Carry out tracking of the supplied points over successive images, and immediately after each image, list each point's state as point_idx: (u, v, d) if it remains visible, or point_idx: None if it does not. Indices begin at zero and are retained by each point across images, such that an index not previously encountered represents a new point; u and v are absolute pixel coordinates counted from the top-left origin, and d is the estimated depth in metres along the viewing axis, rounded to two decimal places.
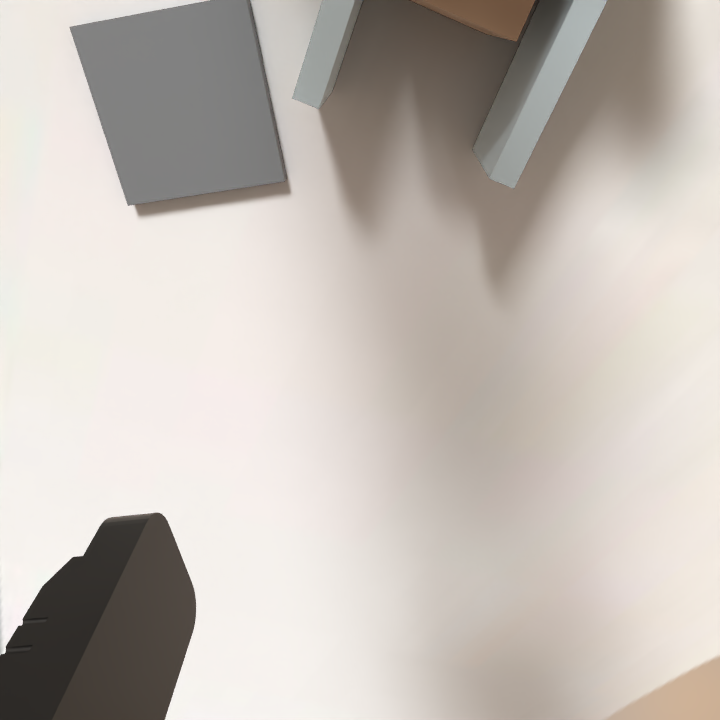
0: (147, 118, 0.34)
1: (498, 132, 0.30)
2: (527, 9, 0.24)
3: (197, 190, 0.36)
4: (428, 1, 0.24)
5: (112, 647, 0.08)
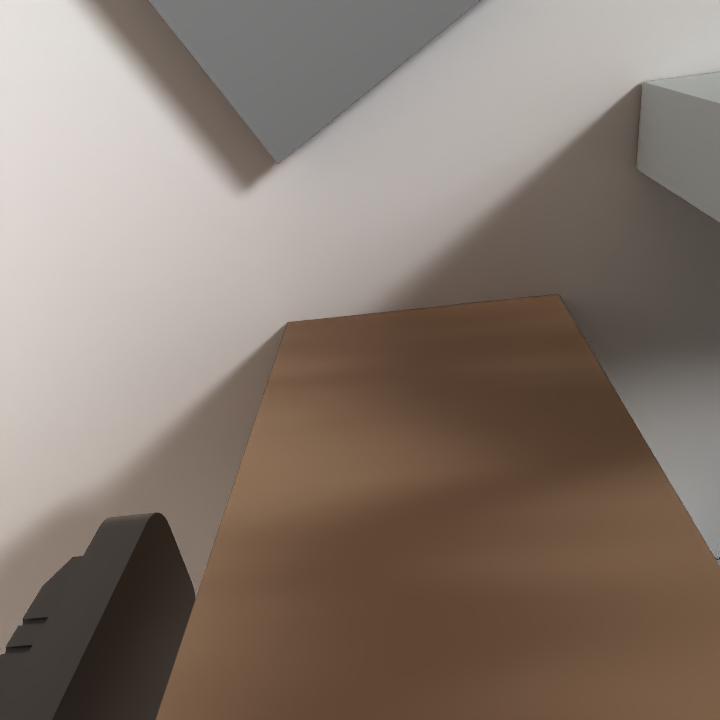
0: None
1: None
2: None
3: None
4: None
5: (112, 648, 0.08)
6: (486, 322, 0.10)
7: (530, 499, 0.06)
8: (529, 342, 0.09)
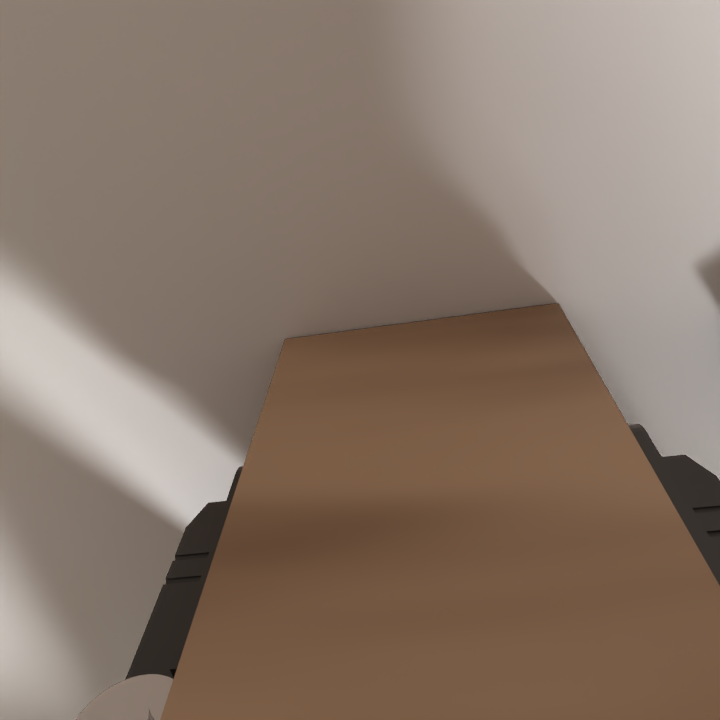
0: None
1: None
2: None
3: None
4: None
5: None
6: None
7: None
8: None
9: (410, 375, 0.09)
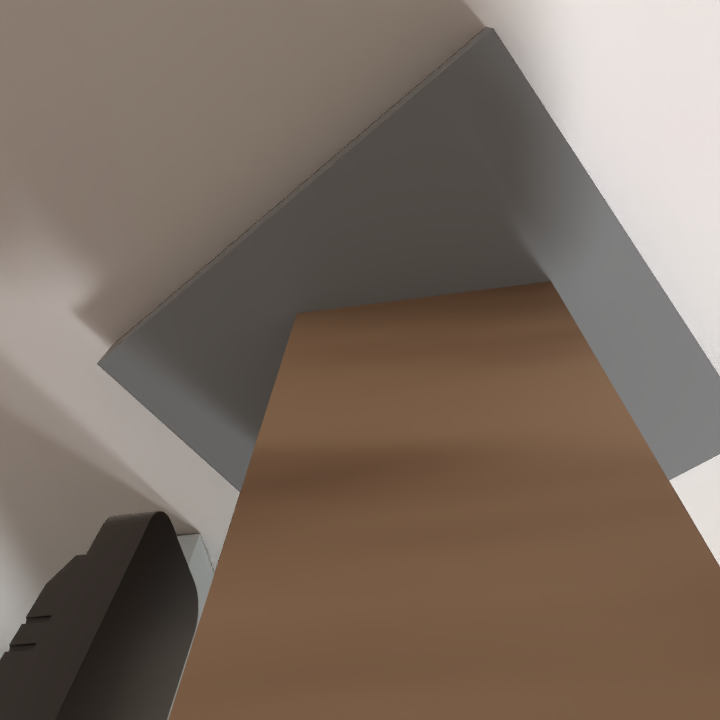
0: None
1: None
2: None
3: (294, 215, 0.11)
4: None
5: (116, 645, 0.08)
6: None
7: None
8: None
9: (414, 343, 0.10)
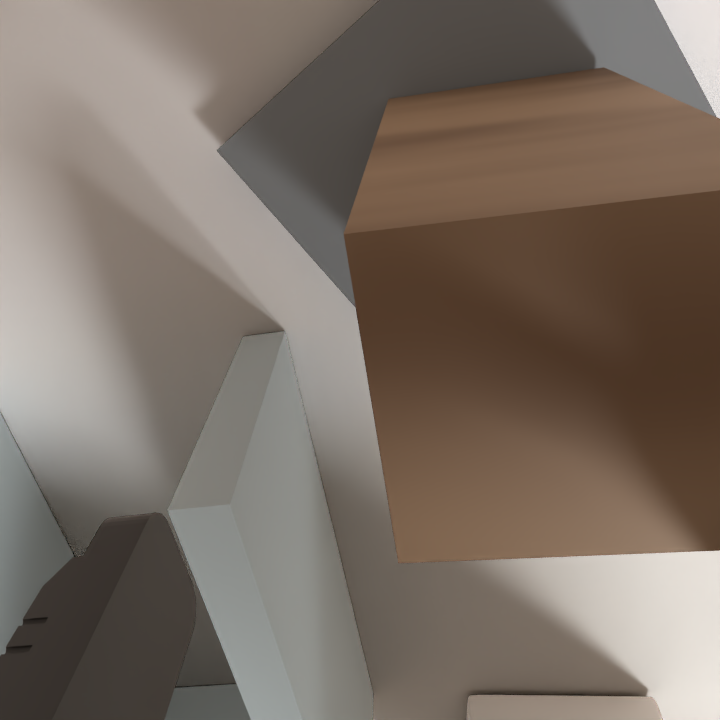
0: None
1: None
2: (371, 332, 0.07)
3: (391, 5, 0.13)
4: None
5: (113, 647, 0.08)
6: None
7: None
8: None
9: (492, 96, 0.12)
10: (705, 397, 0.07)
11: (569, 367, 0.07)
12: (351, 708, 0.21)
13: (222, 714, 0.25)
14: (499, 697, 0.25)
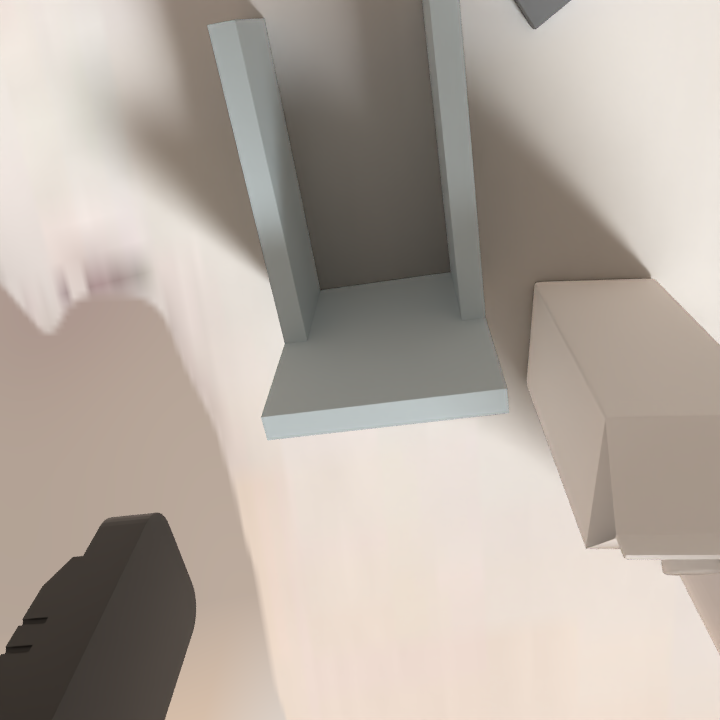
0: None
1: (255, 59, 0.30)
2: None
3: None
4: None
5: (113, 646, 0.08)
6: None
7: None
8: None
9: None
10: None
11: None
12: None
13: (378, 289, 0.39)
14: (555, 281, 0.39)
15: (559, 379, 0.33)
